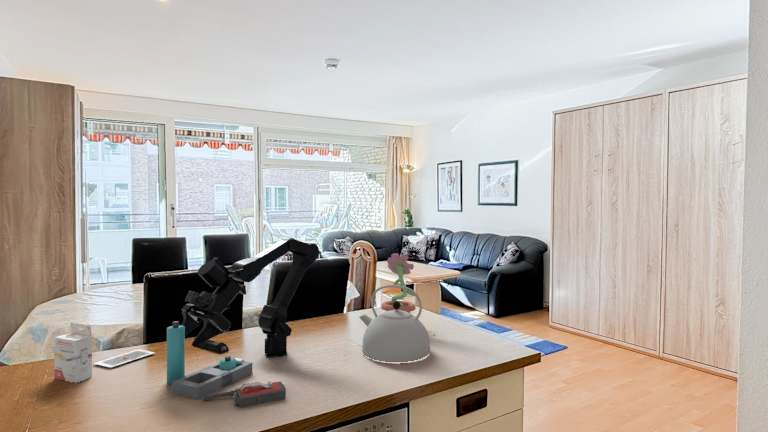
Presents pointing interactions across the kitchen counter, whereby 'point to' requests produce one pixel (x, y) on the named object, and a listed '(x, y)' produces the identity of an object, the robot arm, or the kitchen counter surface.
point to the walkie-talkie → (254, 393)
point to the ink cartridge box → (74, 354)
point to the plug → (175, 352)
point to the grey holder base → (211, 378)
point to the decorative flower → (400, 268)
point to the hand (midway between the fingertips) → (184, 342)
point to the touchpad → (124, 358)
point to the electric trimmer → (215, 346)
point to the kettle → (395, 334)
